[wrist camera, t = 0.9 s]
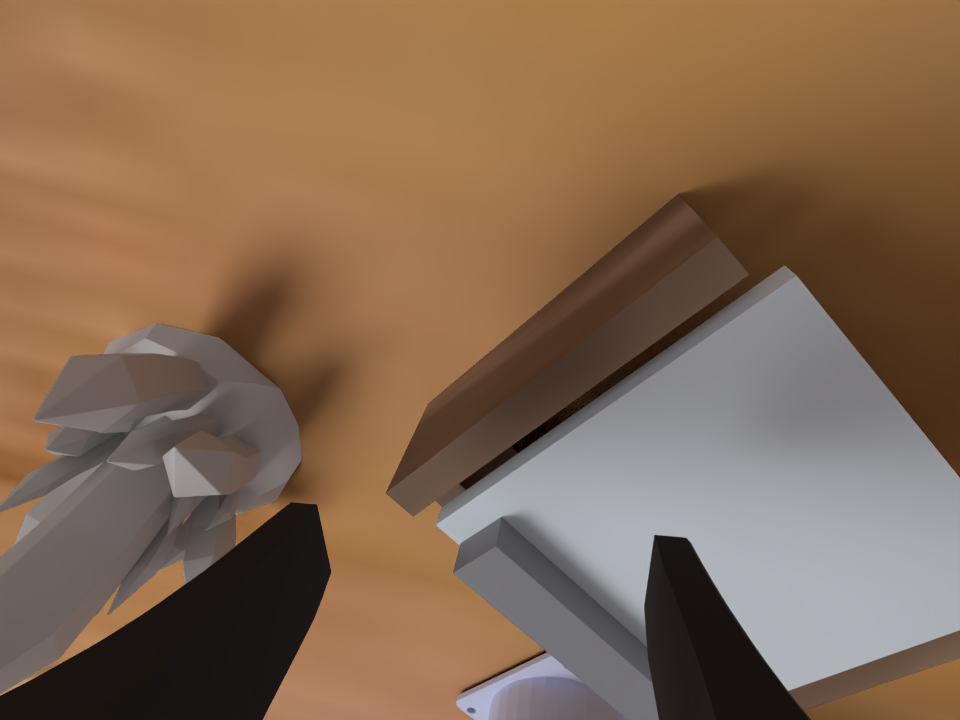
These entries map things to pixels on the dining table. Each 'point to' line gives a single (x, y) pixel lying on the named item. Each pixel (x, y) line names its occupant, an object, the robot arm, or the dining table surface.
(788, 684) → the trapdoor
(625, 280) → the frame
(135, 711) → the robot arm
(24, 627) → the crystal
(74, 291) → the dining table surface
